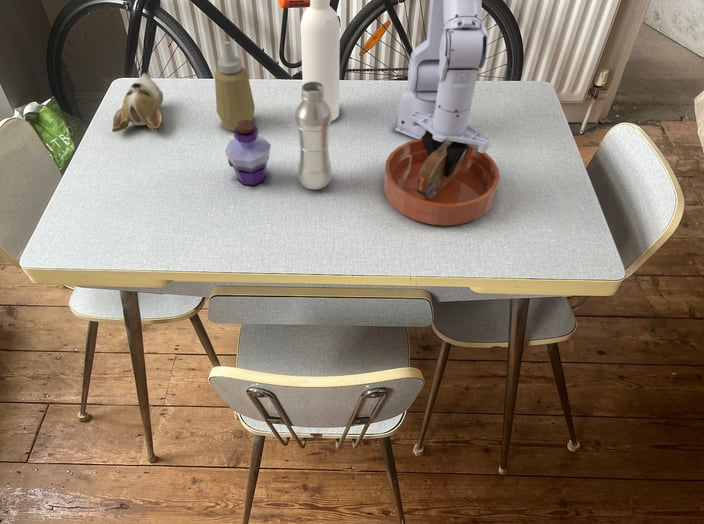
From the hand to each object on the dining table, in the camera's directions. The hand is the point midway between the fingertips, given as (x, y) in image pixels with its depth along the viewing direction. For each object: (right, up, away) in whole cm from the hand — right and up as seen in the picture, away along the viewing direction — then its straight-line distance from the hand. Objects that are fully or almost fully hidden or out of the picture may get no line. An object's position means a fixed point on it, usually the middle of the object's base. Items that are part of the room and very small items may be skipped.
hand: (441, 170), depth 104 cm
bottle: (-22, +17, +22) cm, 35 cm away
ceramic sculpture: (-61, +15, +21) cm, 66 cm away
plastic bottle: (-23, -1, +6) cm, 24 cm away
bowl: (0, -3, +4) cm, 5 cm away
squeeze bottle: (-40, +14, +20) cm, 47 cm away
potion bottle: (-35, 0, +7) cm, 36 cm away
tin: (0, -2, +3) cm, 3 cm away
